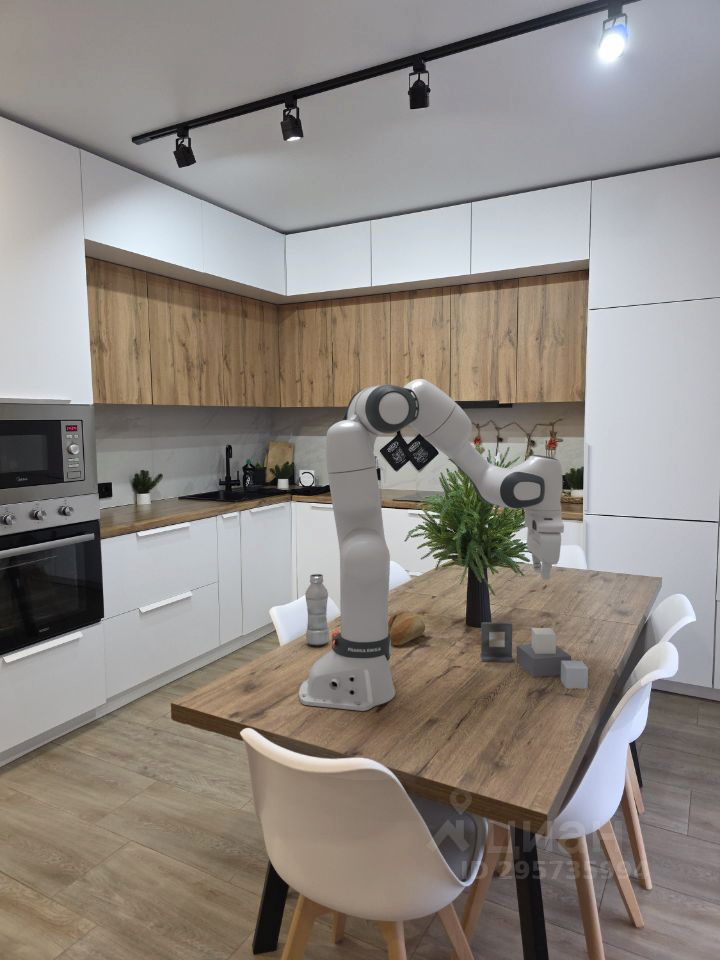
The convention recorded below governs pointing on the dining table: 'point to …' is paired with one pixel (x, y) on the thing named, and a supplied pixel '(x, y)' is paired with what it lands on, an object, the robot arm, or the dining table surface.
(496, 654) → the standing grey panel
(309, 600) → the plastic bottle
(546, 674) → the base block
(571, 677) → the grey blue cube
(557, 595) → the dining table surface
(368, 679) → the robot arm
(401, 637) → the bread roll
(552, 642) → the ivory cube
